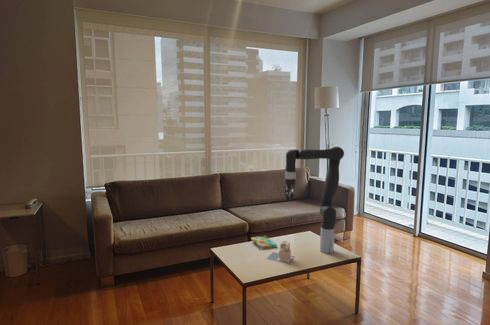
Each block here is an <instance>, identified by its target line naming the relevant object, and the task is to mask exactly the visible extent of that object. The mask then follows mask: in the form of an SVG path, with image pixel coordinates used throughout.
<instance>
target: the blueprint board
mask: <svg viewBox="0 0 490 325" xmlns="http://www.w3.org/2000/svg"><path fill="white" fill-rule="evenodd" d="M295 257H296V256H295V255H291V258H290V259H289V260H288V261H286V260H281V259H279V252H276V251H275V252H274V251H272V253H270V254H269V255H268V256H267V257H266V258H265V259H266V260H269V261H275V262H278V263H283V264H287V265H289V264H291V262H292V261H293V260H294V259H295Z"/></svg>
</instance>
